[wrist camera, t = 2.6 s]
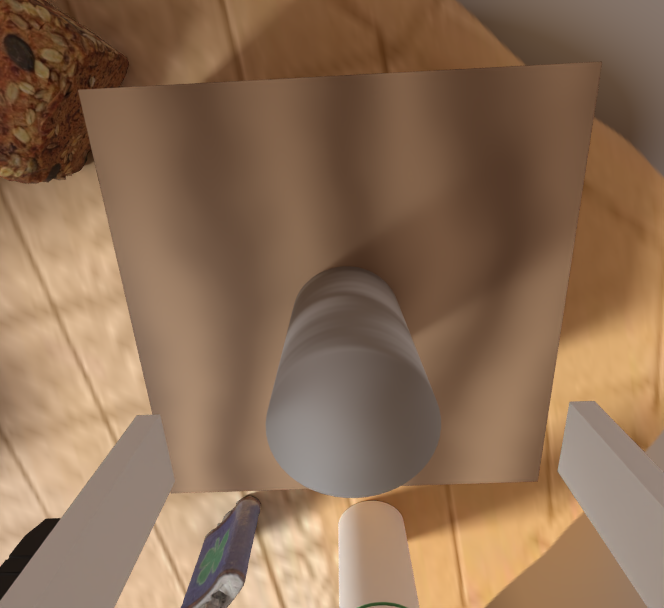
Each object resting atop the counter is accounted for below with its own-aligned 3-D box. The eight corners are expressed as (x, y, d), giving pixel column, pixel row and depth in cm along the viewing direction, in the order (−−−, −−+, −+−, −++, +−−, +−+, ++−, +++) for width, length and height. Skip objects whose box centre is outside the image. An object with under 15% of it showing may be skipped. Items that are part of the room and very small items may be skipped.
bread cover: (219, 388, 41) (90, 664, 19) (174, 109, 32) (-146, 44, 11) (476, 378, 40) (639, 651, 19) (499, 92, 32) (847, -13, 10)
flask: (246, 490, 45) (222, 590, 35) (269, 504, 46) (251, 606, 36) (199, 540, 48) (163, 646, 38) (220, 553, 48) (191, 660, 38)
